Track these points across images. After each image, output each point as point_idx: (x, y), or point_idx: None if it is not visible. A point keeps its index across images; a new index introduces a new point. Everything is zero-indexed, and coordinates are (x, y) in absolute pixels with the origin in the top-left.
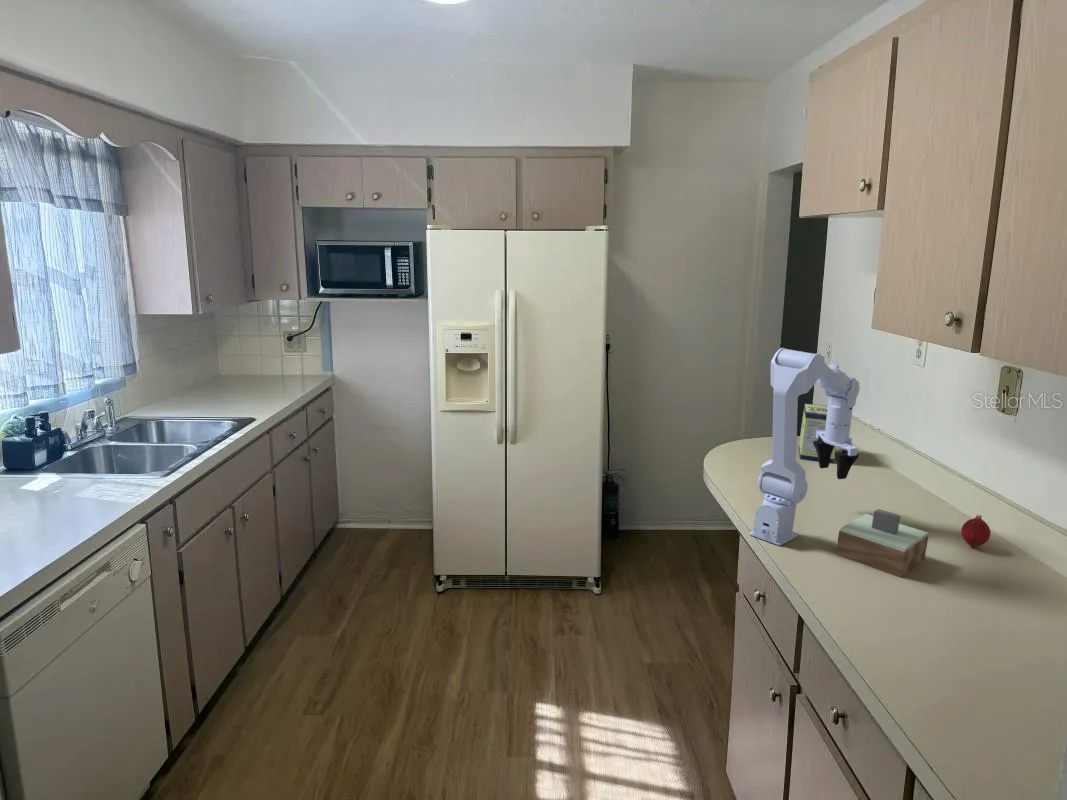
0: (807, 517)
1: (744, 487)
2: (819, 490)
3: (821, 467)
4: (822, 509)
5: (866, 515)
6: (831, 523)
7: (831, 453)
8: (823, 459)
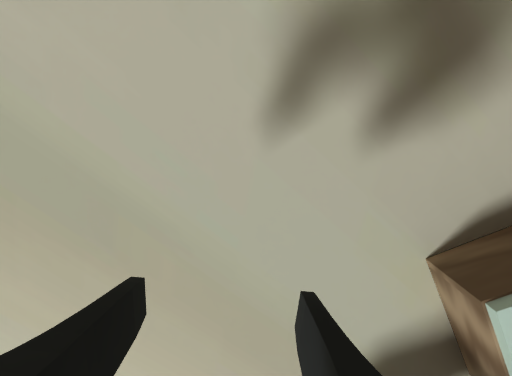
0: (269, 297)
1: (50, 320)
2: (71, 113)
3: (144, 316)
4: (225, 220)
5: (509, 322)
6: (319, 264)
7: (70, 342)
8: (113, 355)
